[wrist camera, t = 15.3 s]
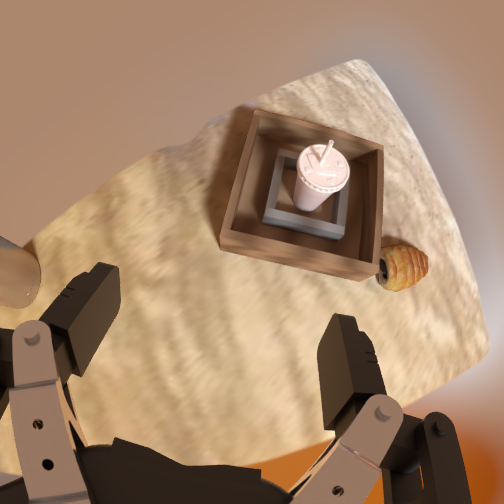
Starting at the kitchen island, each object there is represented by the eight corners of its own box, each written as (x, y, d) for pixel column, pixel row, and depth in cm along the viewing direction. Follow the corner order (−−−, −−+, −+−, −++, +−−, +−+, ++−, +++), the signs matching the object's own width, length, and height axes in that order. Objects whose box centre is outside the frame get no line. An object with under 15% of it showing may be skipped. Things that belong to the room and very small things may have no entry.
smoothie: (296, 173, 45) (321, 112, 31) (333, 195, 44) (371, 141, 31) (275, 206, 43) (296, 149, 30) (315, 229, 43) (352, 181, 29)
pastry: (417, 244, 45) (430, 237, 41) (427, 284, 43) (441, 280, 40) (370, 251, 44) (381, 243, 40) (379, 295, 42) (392, 291, 39)
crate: (220, 250, 42) (219, 235, 36) (251, 133, 47) (254, 109, 42) (359, 281, 42) (378, 272, 36) (368, 164, 48) (383, 145, 42)
